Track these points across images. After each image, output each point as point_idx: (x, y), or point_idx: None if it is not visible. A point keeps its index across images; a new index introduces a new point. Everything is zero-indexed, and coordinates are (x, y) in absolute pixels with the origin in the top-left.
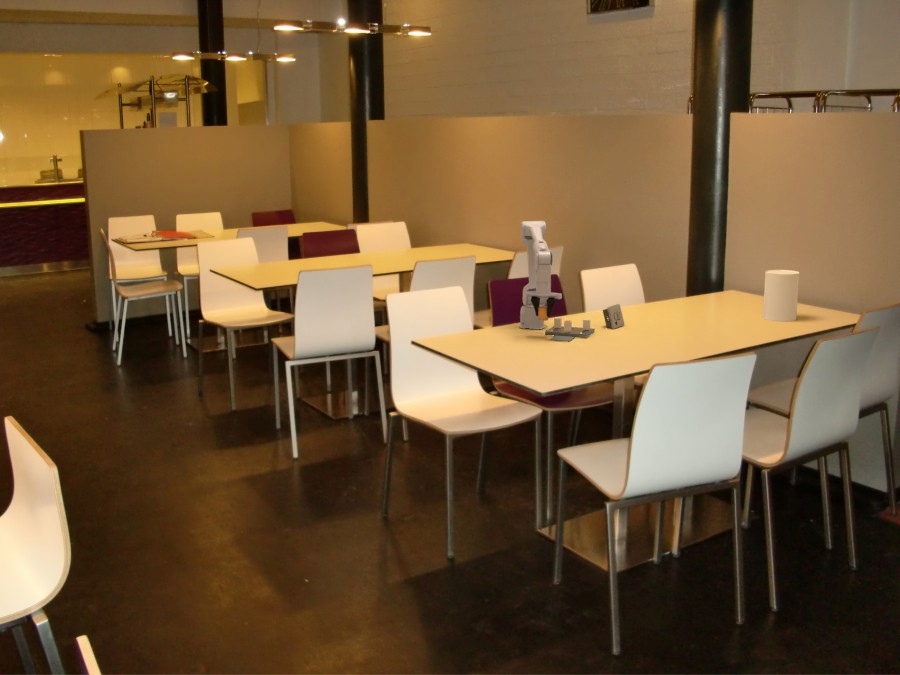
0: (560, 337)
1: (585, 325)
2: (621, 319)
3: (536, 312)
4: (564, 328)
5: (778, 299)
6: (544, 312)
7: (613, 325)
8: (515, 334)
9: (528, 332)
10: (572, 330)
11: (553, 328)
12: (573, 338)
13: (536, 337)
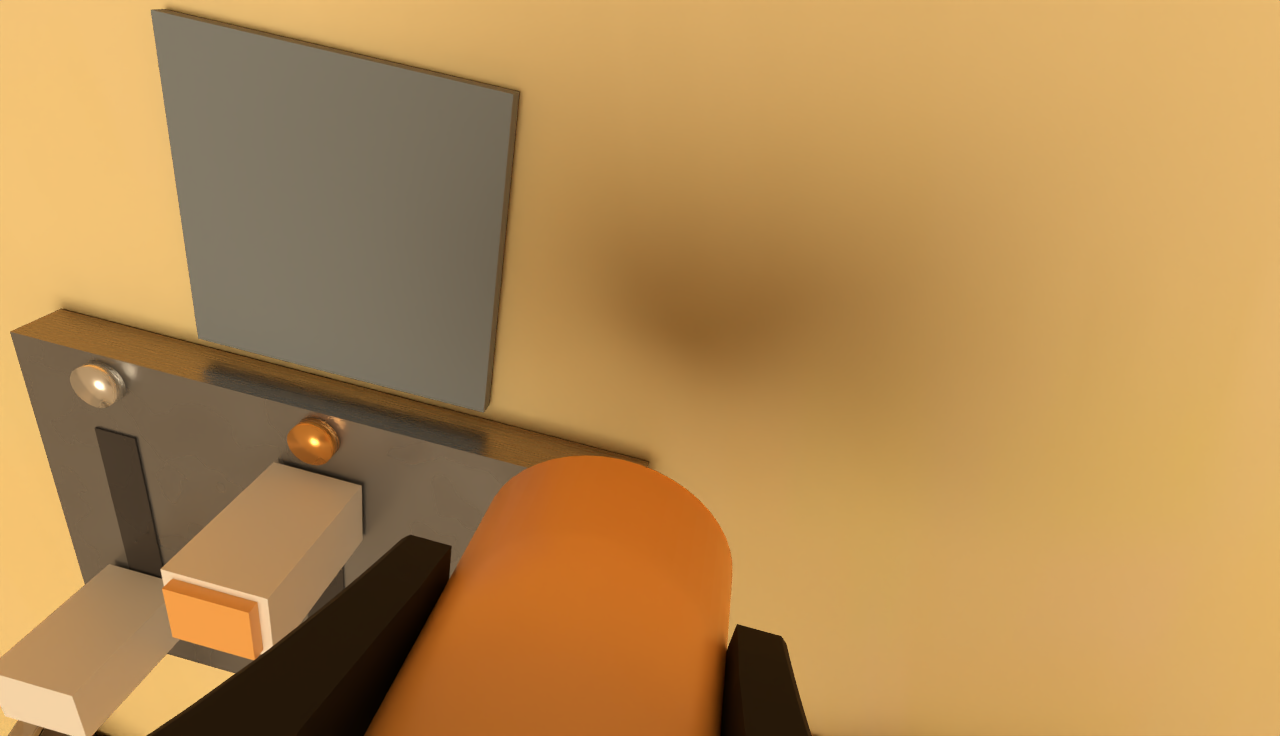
0: (376, 280)
1: (105, 621)
2: None
3: (772, 717)
4: (329, 516)
5: None
6: (470, 634)
7: (10, 733)
8: (1133, 511)
9: (901, 619)
10: None
11: None
12: (192, 256)
13: (772, 323)
